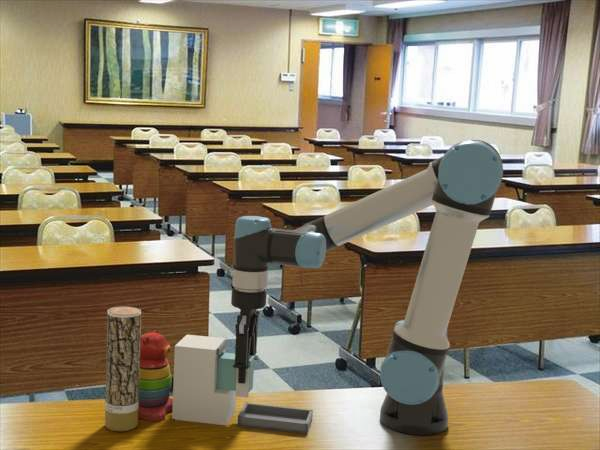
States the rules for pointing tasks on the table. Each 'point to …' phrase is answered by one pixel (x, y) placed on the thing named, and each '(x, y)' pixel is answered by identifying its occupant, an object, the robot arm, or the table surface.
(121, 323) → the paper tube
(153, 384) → the stacking bear
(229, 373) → the teal block
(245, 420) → the tray
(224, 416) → the dispenser
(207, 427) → the table surface
